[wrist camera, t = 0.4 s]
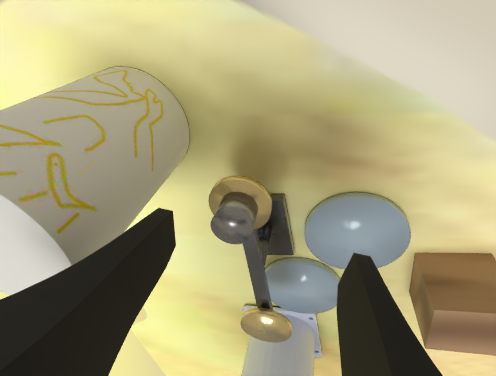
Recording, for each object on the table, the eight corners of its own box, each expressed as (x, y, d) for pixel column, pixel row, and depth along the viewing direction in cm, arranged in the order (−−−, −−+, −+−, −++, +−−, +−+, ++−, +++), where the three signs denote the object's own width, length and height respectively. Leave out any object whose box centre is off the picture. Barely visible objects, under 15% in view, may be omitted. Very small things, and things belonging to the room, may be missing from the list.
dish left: (343, 309, 28) (343, 316, 28) (270, 304, 30) (269, 310, 30) (340, 258, 24) (340, 265, 23) (256, 256, 26) (254, 263, 26)
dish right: (403, 264, 23) (406, 271, 22) (310, 262, 25) (309, 269, 25) (412, 189, 19) (416, 196, 18) (300, 195, 21) (299, 201, 21)
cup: (204, 104, 19) (81, 228, 9) (173, 186, 24) (73, 322, 14) (90, 42, 18) (-174, 109, 8) (83, 141, 23) (-87, 253, 13)
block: (476, 293, 23) (507, 356, 19) (409, 290, 25) (425, 348, 21) (490, 252, 21) (530, 316, 17) (414, 252, 22) (434, 309, 18)
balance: (300, 279, 27) (294, 346, 22) (260, 277, 28) (246, 341, 23) (274, 143, 19) (257, 199, 14) (221, 149, 20) (187, 203, 15)
